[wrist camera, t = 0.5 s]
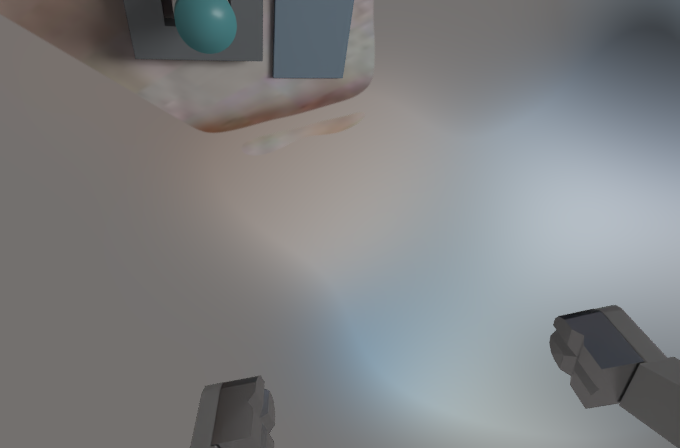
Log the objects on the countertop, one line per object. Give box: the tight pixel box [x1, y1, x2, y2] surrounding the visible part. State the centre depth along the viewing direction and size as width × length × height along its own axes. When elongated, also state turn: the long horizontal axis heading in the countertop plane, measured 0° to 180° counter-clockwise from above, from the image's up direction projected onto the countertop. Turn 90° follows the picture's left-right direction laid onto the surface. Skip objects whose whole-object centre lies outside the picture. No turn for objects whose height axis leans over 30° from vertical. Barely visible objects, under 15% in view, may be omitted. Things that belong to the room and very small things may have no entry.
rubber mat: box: [273, 0, 354, 78], centre depth 49 cm, size 10×10×1 cm
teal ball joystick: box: [172, 0, 237, 54], centre depth 37 cm, size 5×5×14 cm
